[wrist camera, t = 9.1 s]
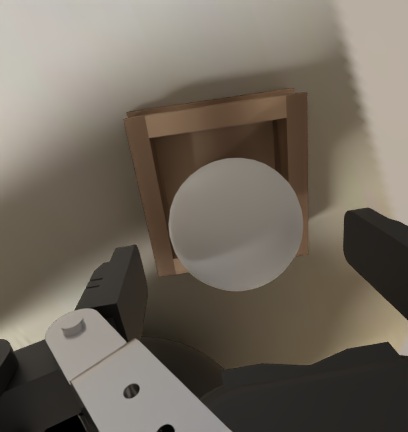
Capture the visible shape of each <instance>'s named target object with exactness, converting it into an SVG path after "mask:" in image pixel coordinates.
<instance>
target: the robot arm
mask: <svg viewBox="0 0 408 432" xmlns="http://www.w3.org/2000/svg"><path fill="white" fill-rule="evenodd" d="M343 251H344V255H345V258H346V260H347V262H348V263H349V264H350V265H351V266H352V267H353V268H354V269H355V270H356V271H357V272H358V273H359V274H360V275H361V276H362V277H363V278H364V279H365V280H366V281H367V282H368V283H370V284H371V285H372V286H373V287H374V288H375V289H376V290H377V291H378V292H379V293H380V294H381V295H382V296H383V297H384V298H385V299H386V300H387V301H388V302H389V303H390V304H392V305H393V306H394V307H395V308H396V309H397V310H398V311H399V312H400V313H401V314H402V315H403V316H404V317H405V318H406V319H407V320H408V226H407V225H405V224H403V223H401V222H399V221H395V220H392V219H388V218H387V217H385V216H383V215H381V214H379V213H378V212H376V211H374V210H372V209H370V208H362V209H356V210H350V211H347V212H346V213H345V217H344V241H343ZM147 297H148V289H147V282H146V277H145V273H144V269H143V265H142V261H141V257H140V253H139V250H138V247H137V245H132V246H126V247H120V248H116V249H115V251H114V253H113V256H112V258H111V260H110V262H106V263H103V264H102V265H101V266H100V267H98V268H97V269H96V270H95V271H94V273H93V275H92V277H91V279H90V282H89V283H88V284H87V286H86V289H85V290H84V292H83V294H82V296H81V298H80V300H79V302H78V304H77V306H76V308H75V310H74V311H72V312H69V313H67V314H65V315H64V316H62V317H60V318H59V319H57V320H56V321H55V322H54V323H53V324H52V325H51V326H50V327H49V328H48V330H47V332H46V334H45V339H44V340H42V341H40V342H37V343H35V344H32V345H29V346H27V347H24V348H21V349H19V350H16V351H13V349H12V347H11V345H10V343H9V342H8V341H7V340H4V339H0V432H45V431H46V429H47V428H50V427H52V426H54V425H56V424H58V423H60V422H62V421H64V420H66V419H69V418H71V417H73V416H75V415H77V414H78V416H79V418H80V420H81V422H82V424H83V426H84V428H85V430H86V432H408V356H403V355H399V354H398V353H397V352H396V350H395V349H394V348H393V347H392V346H391V345H390V344H389V342H384V343H378V344H373V345H367V346H361V347H355V348H349V349H346V350H344V351H341V352H339V353H337V354H335V355H333V356H330V357H328V358H326V359H324V360H321V361H319V362H317V363H315V364H312V365H284V364H257V365H251V366H245V367H239V368H233V369H228V370H222V371H221V374H222V381H223V385H221V386H219V387H217V388H215V389H213V390H212V391H210V392H208V393H207V394H205V395H204V396H203V397H201V398H200V399H198V398H197V397H196V396H195V395H194V394H193V393H192V392H191V391H190V390H189V389H188V388H187V387H186V386H185V385H184V384H183V383H182V382H181V381H180V380H179V379H177V378H176V377H175V376H174V375H173V374H172V373H171V372H170V371H169V370H168V369H167V368H166V367H165V366H164V365H163V364H162V363H161V362H160V361H159V360H158V359H157V358H156V357H155V356H154V355H153V354H152V353H151V352H150V351H149V350H148V349H147V348H146V347H145V346H144V345H143V344H142V343H141V342H140V340H141V334H142V328H143V321H144V315H145V309H146V303H147Z"/></svg>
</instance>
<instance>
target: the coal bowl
mask: <svg viewBox="0 0 408 432" xmlns="http://www.w3.org/2000/svg"><path fill="white" fill-rule="evenodd" d="M140 342H141V343H142V344H143V345H144V346H145V347H146V348H147V349H148V350H149V351H150V352H151V353H152V354H153V355H154V356H155V357H156V358H157V359H158V360H159V361H160V362H161V363H162V364H163V365H164V366H165V367H166V368H167V369H168V370H169V371H170V372H171V373H172V374H173V375H174V376H175V377H176V378H177V379H179V380H180V381H181V382H182V383H183V384H184V385H185V386H186V387H187V388H188V389H189V390H190V391H191V392H192V393H193V394H194V395H195V396H196V397H197V398H198V399H200V398H201V397H203V396H204V395H205V394H207V393H208V392H210V391H212V390H213V389H215V388H217V387H219V386H221V385H223V381H222V374H221V371H222V370H224V369H223V368H222V367H221V366H220V365H219V364H218V363H216V362H215V361H214V360H212V359H211V358H209V357H208V356H206V355H205V354H203V353H201V352H199V351H198V350H196V349H194V348H191V347H189V346H187V345H184V344H181V343H178V342H175V341H171V340H167V339H162V338H153V337H141V340H140ZM45 432H86V430H85V428H84V426H83V424H82V422H81V420H80V418H79V416H78V414H77V415H75V416H73V417H71V418H69V419H66V420H64V421H62V422H60V423H58V424H56V425H54V426H52V427H50V428H47V429H46V431H45Z"/></svg>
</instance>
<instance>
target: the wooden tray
mask: <svg viewBox="0 0 408 432" xmlns="http://www.w3.org/2000/svg"><path fill="white" fill-rule="evenodd" d="M127 116H128V118H126V119H123V120H124V124H125V129H126V133H127V137H128V142H129V146H130V151H131V155H132V160H133V164H134V169H135V173H136V177H137V182H138V186H139V191H140V195H141V200H142V204H143V209H144V213H145V218H146V222H147V226H148V231H149V235H150V240H151V244H152V249H153V253H154V258H155V262H156V266H157V271H158V275H159V277H161V276H168V275H174V274H181V273H188V272H189V271H188V270H187V269H186V268H185V267H184V266H183V265H182V263H181V262H180V260H179V259H178V257H177V255H176V253H175V251H174V248H173V245H172V242H171V239H170V235H169V216H170V209H171V205H172V202H173V200H174V197H175V195H176V193H177V191H178V190H179V188H180V186H181V185H182V184H183V183H184V182H185V181H186V179H187V178H188V177H189V176H190V175H192V174H193V173H194V172H196V171H197V170H198V169H200V168H201V167H203V166H205V165H207V164H209V163H211V162H214V161H218V160H222V159H226V158H245V159H252V160H256V161H258V162H261V163H264V164H266V165H268V166H269V167H271V168H272V169H274V170H276V171H277V172H278V173H279V174H280V175H281V176H282V177H283V178H284V179H285V180H286V181H287V182H288V183H289V184H290V185H291V187H292V189H293V190H294V192H295V193H296V196H297V198H298V201H299V204H300V207H301V210H302V217H303V233H302V240H301V243H300V246H299V250H298V251H297V253H296V255H295V256H301V255H308V147H307V93H294V88H289V89H282V90H276V91H269V92H262V93H255V94H248V95H241V96H235V97H228V98H221V99H214V100H207V101H200V102H194V103H187V104H180V105H173V106H166V107H159V108H153V109H146V110H139V111H132V112H127Z"/></svg>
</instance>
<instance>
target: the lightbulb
mask: <svg viewBox="0 0 408 432" xmlns="http://www.w3.org/2000/svg"><path fill="white" fill-rule="evenodd" d="M302 233H303V217H302V210H301V207H300V204H299V201H298V198H297V196H296V193H295V192H294V190H293V189H292V187H291V185H290V184H289V183H288V182H287V181H286V180H285V179H284V178H283V177H282V176H281V175H280V174H279V173H278V172H277V171H276V170H274V169H272V168H271V167H269V166H268V165H266V164H264V163H261V162H258V161H256V160H252V159H245V158H226V159H222V160H218V161H214V162H211V163H209V164H207V165H205V166H203V167H201V168H200V169H198V170H197V171H196V172H194V173H193V174H192V175H190V176H189V177H188V178H187V179H186V181H185V182H184V183H183V184H182V185H181V186H180V188H179V190H178V191H177V193H176V195H175V197H174V200H173V202H172V205H171V209H170V216H169V235H170V239H171V242H172V245H173V248H174V251H175V253H176V255H177V257H178V259H179V260H180V262H181V263H182V265H183V266H184V267H185V268H186V269H187V270H188V271H189V272H190V274H191V275H193V276H194V277H195V278H197V279H198V280H199V281H201V282H203V283H205V284H207V285H209V286H211V287H215V288H218V289H222V290H227V291H246V290H251V289H255V288H258V287H261V286H263V285H265V284H267V283H269V282H271V281H272V280H274V279H276V278H277V277H278V276H279V275H280V274H281V273H283V272H284V271H285V269H286V268H287V267H288V266H289V265H290V263H291V262H292V260H293V259H294V257H295V255H296V253H297V251H298V250H299V246H300V243H301V240H302Z"/></svg>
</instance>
